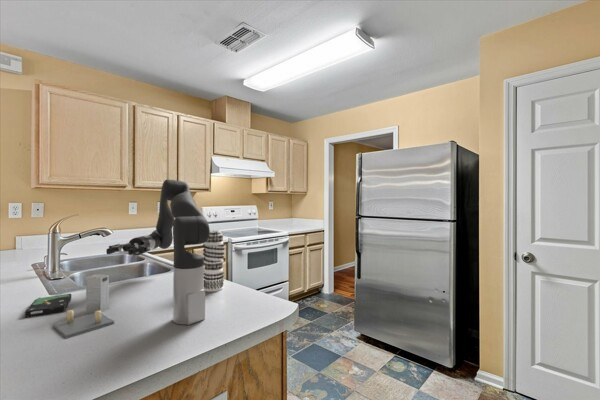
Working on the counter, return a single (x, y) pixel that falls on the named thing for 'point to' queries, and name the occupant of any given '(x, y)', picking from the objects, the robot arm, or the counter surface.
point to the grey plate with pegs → (82, 323)
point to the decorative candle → (213, 261)
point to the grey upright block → (97, 293)
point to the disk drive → (48, 305)
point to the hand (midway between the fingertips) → (118, 251)
